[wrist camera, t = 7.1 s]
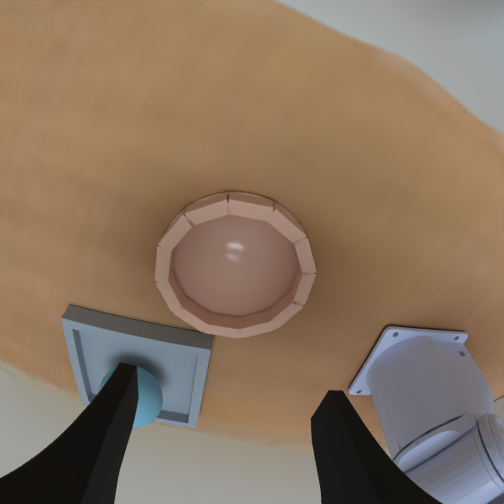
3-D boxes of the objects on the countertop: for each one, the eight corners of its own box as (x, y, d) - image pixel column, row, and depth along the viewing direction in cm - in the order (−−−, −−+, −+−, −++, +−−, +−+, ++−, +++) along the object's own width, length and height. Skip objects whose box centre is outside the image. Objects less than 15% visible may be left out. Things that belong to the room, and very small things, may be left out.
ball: (169, 359, 23) (160, 413, 19) (164, 396, 25) (156, 444, 21) (106, 344, 22) (88, 395, 18) (108, 382, 25) (95, 429, 20)
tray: (212, 334, 23) (211, 350, 21) (197, 415, 28) (196, 428, 26) (69, 304, 21) (61, 317, 20) (87, 391, 26) (82, 403, 25)
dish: (329, 209, 18) (336, 220, 17) (287, 329, 23) (290, 345, 21) (169, 178, 17) (162, 186, 16) (156, 309, 22) (151, 324, 20)
